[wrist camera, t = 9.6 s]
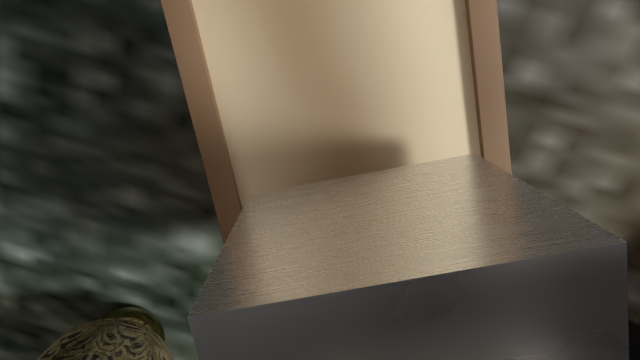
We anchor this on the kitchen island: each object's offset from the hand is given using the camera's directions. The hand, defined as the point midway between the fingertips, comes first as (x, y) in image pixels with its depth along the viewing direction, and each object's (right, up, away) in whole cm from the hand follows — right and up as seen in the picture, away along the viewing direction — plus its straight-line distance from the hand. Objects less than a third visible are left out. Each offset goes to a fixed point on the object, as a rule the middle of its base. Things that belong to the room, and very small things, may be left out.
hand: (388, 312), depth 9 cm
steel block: (0, 0, +1) cm, 2 cm away
